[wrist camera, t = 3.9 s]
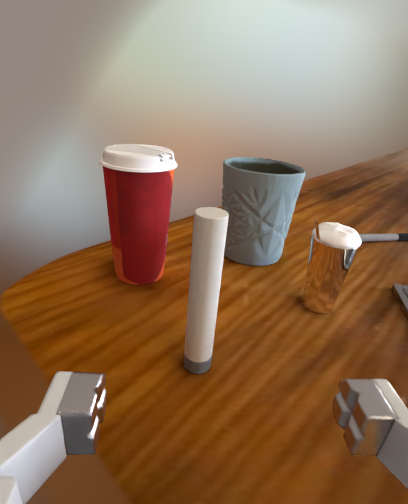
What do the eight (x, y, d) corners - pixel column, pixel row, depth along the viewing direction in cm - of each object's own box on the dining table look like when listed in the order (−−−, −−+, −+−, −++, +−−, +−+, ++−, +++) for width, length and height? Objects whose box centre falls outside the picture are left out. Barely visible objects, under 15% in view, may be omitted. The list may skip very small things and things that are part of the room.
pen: (335, 240, 53) (337, 232, 53) (420, 238, 57) (423, 231, 56) (339, 244, 52) (342, 236, 51) (427, 241, 56) (429, 234, 55)
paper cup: (184, 268, 41) (192, 151, 35) (146, 298, 35) (146, 161, 29) (133, 251, 44) (132, 140, 38) (90, 275, 38) (79, 147, 32)
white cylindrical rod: (207, 377, 26) (225, 220, 20) (180, 370, 26) (190, 215, 21) (213, 357, 28) (231, 209, 22) (187, 351, 28) (199, 204, 23)
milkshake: (281, 297, 37) (300, 211, 33) (319, 290, 39) (342, 208, 35) (307, 323, 33) (333, 229, 29) (348, 313, 35) (378, 225, 31)
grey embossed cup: (203, 256, 45) (211, 164, 39) (228, 230, 53) (237, 152, 48) (279, 276, 41) (299, 179, 36) (292, 245, 50) (310, 164, 45)
